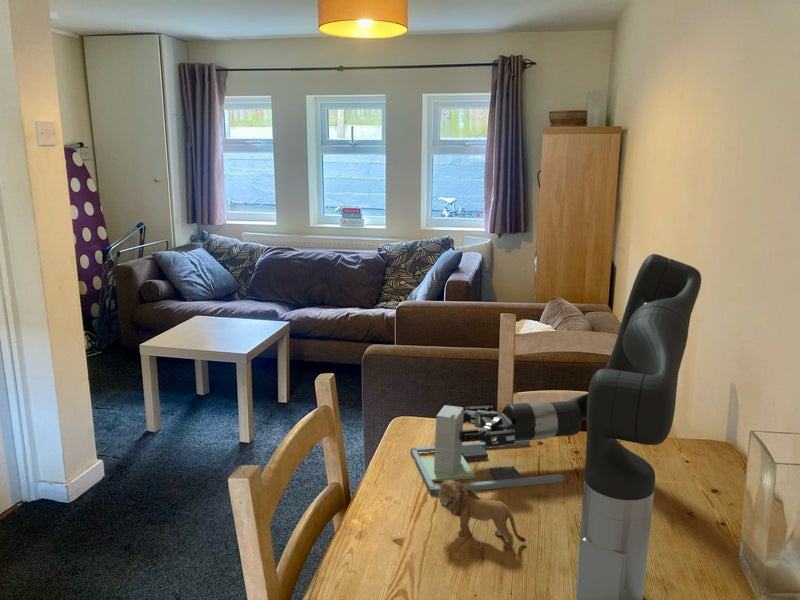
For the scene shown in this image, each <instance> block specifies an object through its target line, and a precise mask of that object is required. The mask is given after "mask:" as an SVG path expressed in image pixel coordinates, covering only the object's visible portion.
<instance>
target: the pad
mask: <svg viewBox="0 0 800 600" xmlns="http://www.w3.org/2000/svg"><path fill="white" fill-rule="evenodd" d="M421 460H422V462H423V464H424V466H425V468H426V470H427V472H428V474H429V476H430V478H431V480H432V482H433V483H436V482H435V481H441V482H445V480H454V481H458V480H457V479H463V480H471V479H472V480H473V479H476V474H475V473H474V471H473V470H472V468H471V467H470V464H468V461H466V460H465V459H464V457H463V456H462V457H461V463H460V464H459V466H458V468H457V469H456V471H455V473H454V474H446V473H441V472H436V471H434V457H424V458H421Z"/></svg>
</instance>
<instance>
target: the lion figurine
mask: <svg viewBox="0 0 800 600" xmlns="http://www.w3.org/2000/svg"><path fill="white" fill-rule="evenodd" d="M439 483H440V482H439ZM439 486H440V491H439V494H438V499H439V503H440V504H441V507H442V508H446V509H447V510H448V511H450V514H452V516H456V517H459V520H460V527H461V530H459V531H458V532H457V533H458V535H459V536H460V537H465V536H466V535H467V533H468V530H469V529H468V526H469V523H470V520H471V519H474V520H478V521H482V522H487V521H491V520H492V521H493V524H494V526H495V528H496V529H495V531H494V534H495V535H496V536H503V537H504V538H505V539H506V541H507V542H504V547H505V548H506V549H508V550H511V549H512V548H513V546H514V538H513V537H514V536H515V537H516V538H517V540H518V541H520V542H522V543H524V542H526V538H525V537H523V536H520V535H519V534H518V532H517V530H518V529H517V527H516V523H515V520H514V517H513V514H512V512H511V510H510V508H509V507H508V505H507V504H505V503H504V502H502V501H500V500H491V499H485V498H481V497H479V496H478V495H476V493H475V492H474V490H470V489H469V488H468V487H467V486H464V485H463V483H461V482H459V481H458V480H446V481H442V482H441V483H440V484H439ZM508 519H509V522H510V525H511V528H512V532H513V534H514V536H513V534H512V533H511V531H510V530H509V528H508V526H507V521H508Z"/></svg>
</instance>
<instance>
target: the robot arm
mask: <svg viewBox="0 0 800 600" xmlns="http://www.w3.org/2000/svg"><path fill="white" fill-rule="evenodd" d="M701 286H702V274H701V272H700V271H699V269H697V268H696V267H693V266H691V265H689V264H687V263H684V262H681V261H679V260H675V259H673V258H669V257H666V256H663V255H661V254H657V253H651V254H649V255H648V256H647V257H646V258H645V259H644V261H643V262H642V263H641V265H640V267H639V270H638V271H637V274H636V277H635V279H634V282H633V285H632V287H631V290H630V294H629V296H628V300H627V303H626V305H625V309H624V312H623V315H622V318H621V322H620V326H619V329H618V333H617V337H616V340H615V343H614V346H613V349H612V352H611V354H610V357H609V359H608V361H607V363H606V365H605V368H600V369H599V370H597V371H596V372H595V373H594V374H593V375H592V378H591V380H590V383H589V386H588V393H584V394H583V395H580V396H576V397H574V398H572V399H571V398H570V399H569V400H566V401H551V402H543V401H537V402H536V401H534V402H533V401H532V402H521V403H509V404H506V405H505V406H504V408H503V410H502V411H494V406H493V405H479V406H478V405H477V406H476V405H475V406H473V405H472V406H465V407H464V408H465V410H464V415H463V425H464V424H469V425H470V424H471V425H474V427H475V428H471V429H463V430H461V431H460V432H459V440H460V441H461V442H462V443H467V442H468V443H472V442H478V443H479V442H481V443H484V442H485V445H486V446H497V445H506V444H514V443H515V442H516V441H528V440H530V441H536V440H537V441H538V440H545V439H549V438H557V437H566V436H567V437H568V436H569V437H570V436H574V435H577V434H578V433H580V431H582V430H581V429H582V427H583V421H586V446H585V447H586V448H585V459H584V460H585V461H584V463H585V464H584V477H583V492H582V502H581V517H580V528H579V529H580V530H579V543H578V544H579V545H578V554H577V555H578V556H577V557H578V558H577V570H576V583H575V584H576V585H575V587H576V595H575V596H576V597H575V599H576V600H644V594H645V583H646V576H647V575H646V573H647V563H648V554H649V545H650V544H649V543H650V534H651V533H650V532H651V522H652V516H653V515H652V513H653V506H654V504H653V503H654V497H655V485H656V473H655V470H654V467H653V466H652V465H651V464H650V462H648V461H647V460H646V459H644V458H643V457H642V456H639V455H638V454H636V453H634V452H633V451H631V450H629V449H628V448H627V447H626V446H625V445H622V444H621V443H620V442H619V441H618V440H620V441H624V442H629V443H634V444H638V445H646V446H657V445H661V444H662V443H664V442H665V440H666V439H667V438H668V436H669V435H670V432H671V430H672V426H673V422H674V418H675V412H676V411H675V410H676V401H677V392H678V390H677V389H678V380H679V372H680V369H681V364H682V361H683V357H684V354H685V351H686V347H687V342H688V337H689V328H690V323H691V316H692V312H693V310H694V308H695V304H696V302H697V299H698V297H699V292H700V290H701Z"/></svg>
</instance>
